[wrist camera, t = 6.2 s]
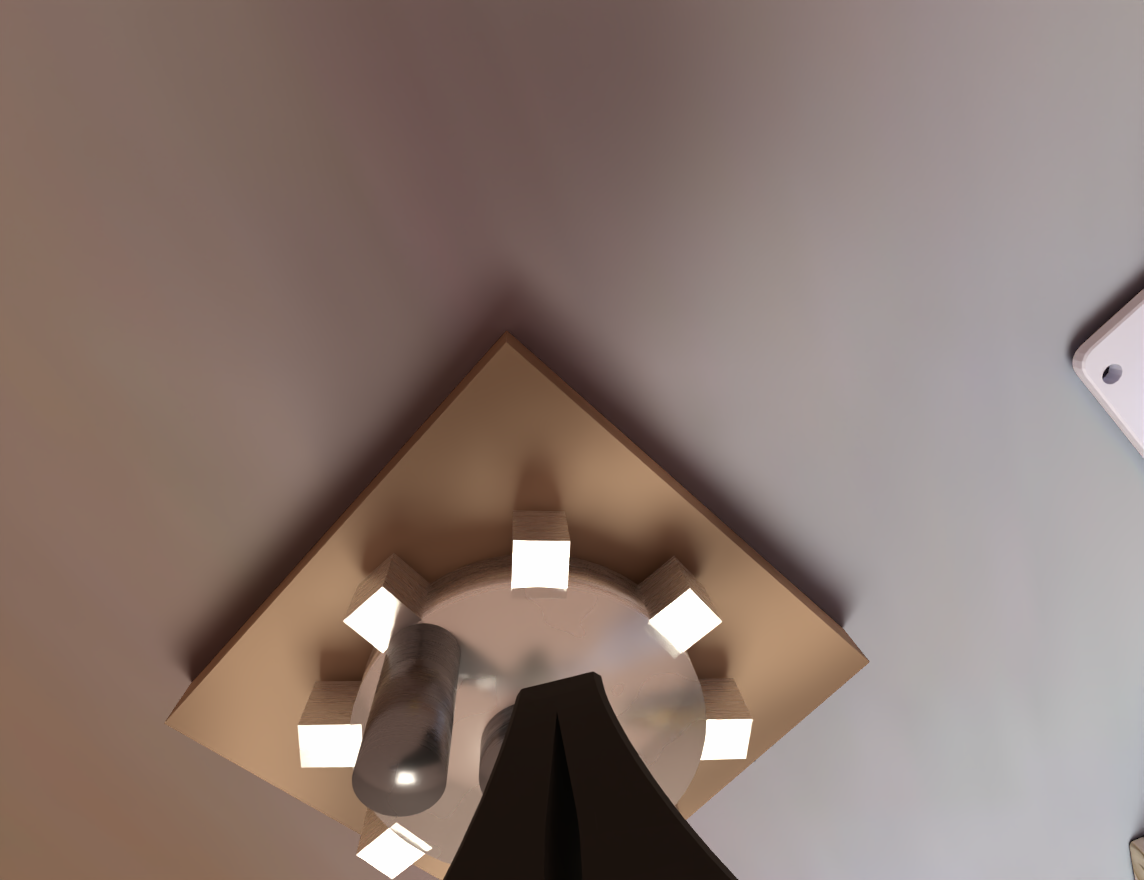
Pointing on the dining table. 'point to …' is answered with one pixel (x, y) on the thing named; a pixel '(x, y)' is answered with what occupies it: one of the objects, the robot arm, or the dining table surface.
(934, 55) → the dining table surface
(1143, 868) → the coffee box
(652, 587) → the sprocket
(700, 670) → the index board
